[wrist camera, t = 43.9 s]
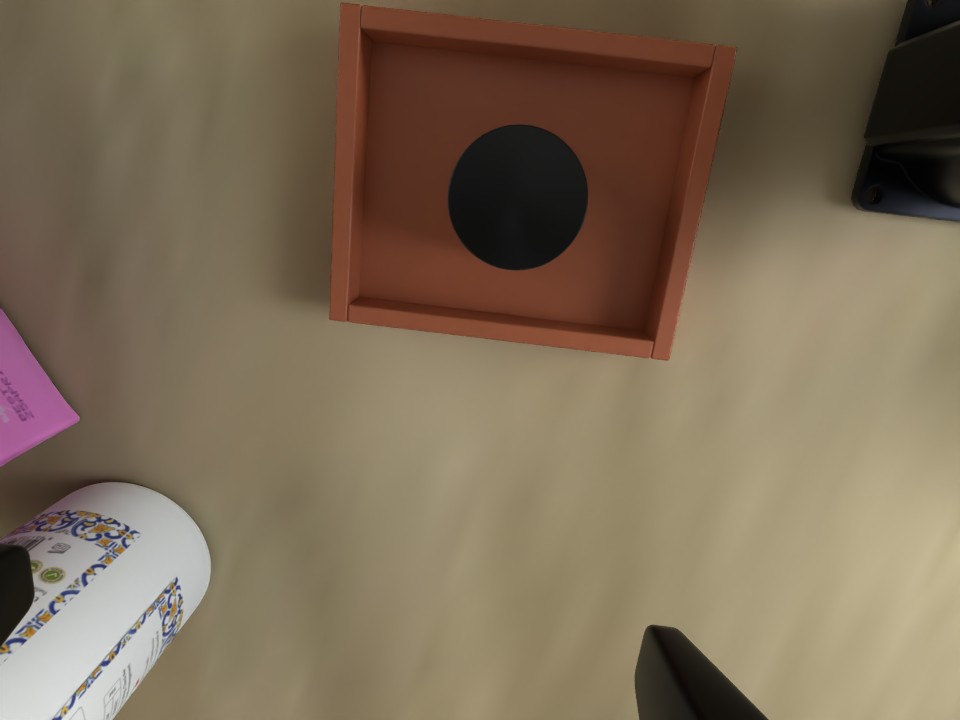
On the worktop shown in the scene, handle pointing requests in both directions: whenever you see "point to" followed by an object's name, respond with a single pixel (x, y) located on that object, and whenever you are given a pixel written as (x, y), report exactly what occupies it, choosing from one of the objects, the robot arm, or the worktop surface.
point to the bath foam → (100, 600)
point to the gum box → (26, 398)
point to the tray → (529, 101)
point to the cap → (517, 197)
